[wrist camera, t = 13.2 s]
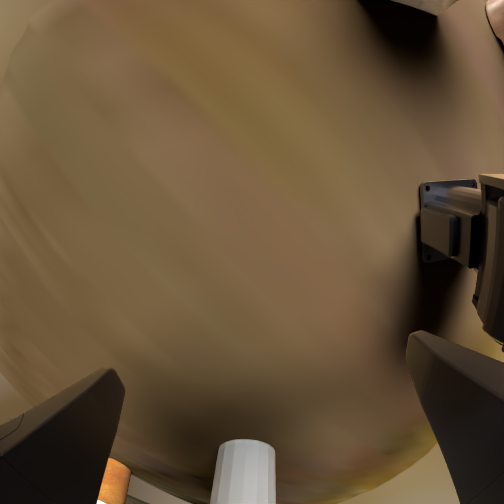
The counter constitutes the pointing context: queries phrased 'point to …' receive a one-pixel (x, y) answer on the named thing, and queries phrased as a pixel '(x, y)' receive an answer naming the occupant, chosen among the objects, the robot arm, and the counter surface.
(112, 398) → the robot arm
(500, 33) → the plant pot
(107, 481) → the disposable coffee cup
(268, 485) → the white tapered cylinder
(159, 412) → the counter surface
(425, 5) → the coffee box
